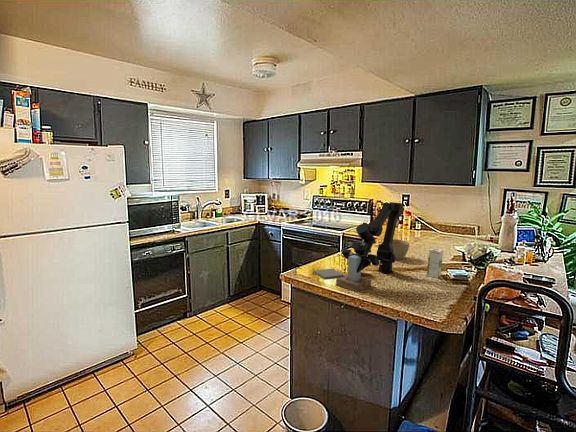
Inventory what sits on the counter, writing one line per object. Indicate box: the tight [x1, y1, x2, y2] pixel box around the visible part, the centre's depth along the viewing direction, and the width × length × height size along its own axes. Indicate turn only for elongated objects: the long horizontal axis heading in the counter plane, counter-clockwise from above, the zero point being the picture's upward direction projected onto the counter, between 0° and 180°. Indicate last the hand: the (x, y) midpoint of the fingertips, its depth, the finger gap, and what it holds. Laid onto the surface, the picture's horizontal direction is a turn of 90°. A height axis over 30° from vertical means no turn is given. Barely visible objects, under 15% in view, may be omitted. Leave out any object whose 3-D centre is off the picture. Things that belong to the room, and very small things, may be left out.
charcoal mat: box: [312, 267, 345, 280], centre depth 175 cm, size 12×12×1 cm
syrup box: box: [426, 248, 444, 279], centre depth 175 cm, size 6×6×14 cm
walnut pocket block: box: [335, 274, 372, 293], centre depth 158 cm, size 12×12×3 cm
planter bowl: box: [392, 238, 411, 261], centre depth 212 cm, size 16×16×11 cm
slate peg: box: [347, 255, 362, 282], centre depth 158 cm, size 4×4×14 cm
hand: (352, 271), depth 157 cm, fingers closed on slate peg, 4 cm apart
